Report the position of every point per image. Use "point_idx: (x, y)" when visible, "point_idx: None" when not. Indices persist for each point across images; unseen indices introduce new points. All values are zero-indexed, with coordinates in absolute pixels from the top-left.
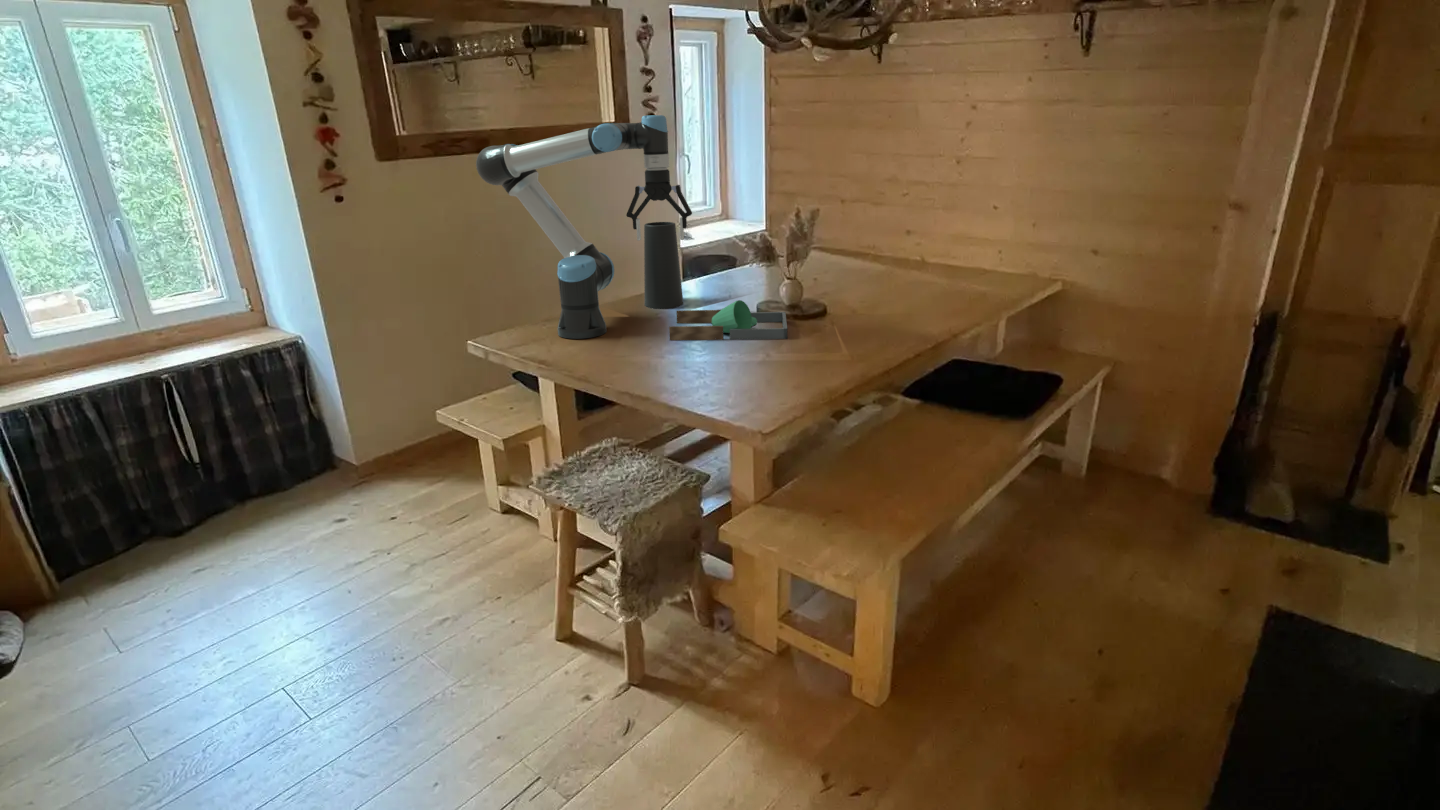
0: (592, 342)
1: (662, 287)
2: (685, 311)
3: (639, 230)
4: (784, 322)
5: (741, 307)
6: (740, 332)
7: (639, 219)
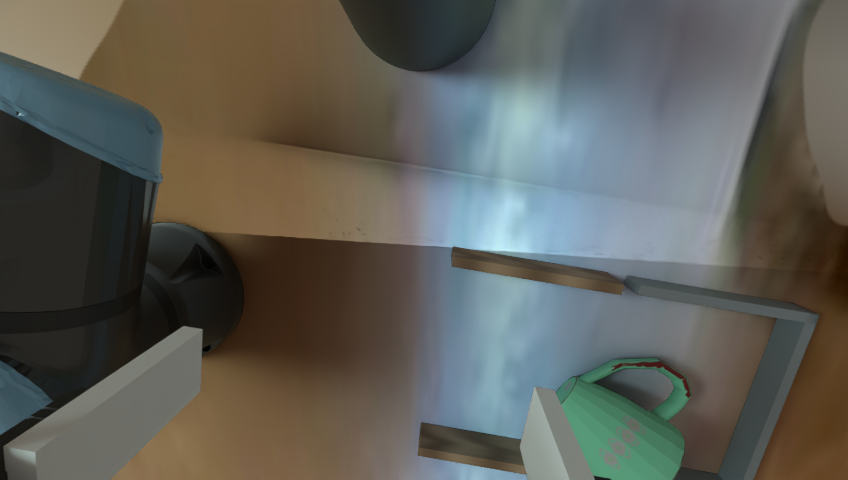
0: (223, 403)
1: (408, 43)
2: (482, 271)
3: (146, 420)
4: (762, 440)
5: (662, 437)
6: None
7: (49, 458)
